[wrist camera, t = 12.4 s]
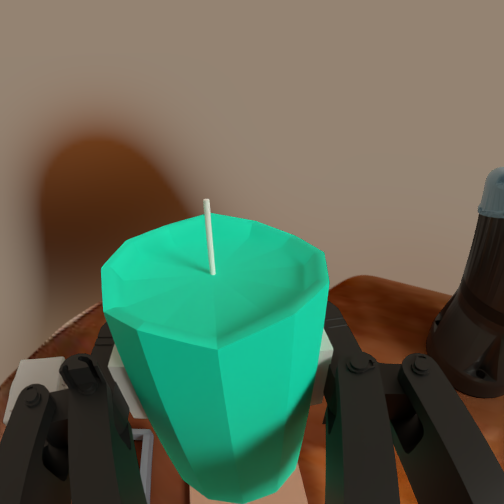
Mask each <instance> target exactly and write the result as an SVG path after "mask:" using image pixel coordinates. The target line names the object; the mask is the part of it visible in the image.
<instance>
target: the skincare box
mask: <svg viewBox="0 0 504 504" xmlns="http://www.w3.org/2000/svg"><path fill="white" fill-rule="evenodd" d="M64 361H65V358H64V357H52V358H41V359H26V360H21V361H20V363H19V366H18V369H17V372H16V376H15V379H14V380H13V382H12V385H11V388H10V392H9V399H8V403H7V407H6V411H5V415H4V419H3V423H4V424H5V425H6V426H7V423H8V421H9V418H10V415H11V413H12V410H13V408H14V405H15V403H16V400H17V398H18V396H19V394H20V392H21V391H22V390H23V389H24V388H25V387H27V386H29V385H31V384H41V385H44V386H45V387H46V388H47V389H48V391H49V392H55V391H59V390H64V389H68V386H67V385H66V383H65V381H64V380H63V378H62V376H61V375H60V373H59V369H60V366H61V364H62V363H63V362H64Z"/></svg>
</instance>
